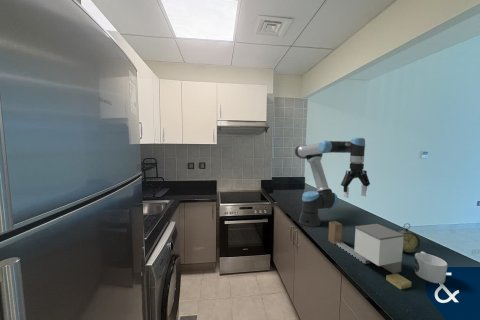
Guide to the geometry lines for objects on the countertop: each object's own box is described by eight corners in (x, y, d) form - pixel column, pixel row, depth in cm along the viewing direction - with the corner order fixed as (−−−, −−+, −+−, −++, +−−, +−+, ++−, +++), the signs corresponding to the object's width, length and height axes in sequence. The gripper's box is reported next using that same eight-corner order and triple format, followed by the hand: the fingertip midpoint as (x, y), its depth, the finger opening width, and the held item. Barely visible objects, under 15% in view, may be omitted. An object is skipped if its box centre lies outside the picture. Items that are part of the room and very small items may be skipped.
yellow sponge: (386, 280, 86) (386, 275, 86) (396, 278, 88) (396, 273, 88) (400, 290, 81) (400, 284, 81) (411, 287, 82) (411, 282, 82)
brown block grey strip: (328, 240, 122) (329, 221, 121) (334, 239, 123) (335, 221, 122) (363, 264, 98) (365, 240, 97) (371, 262, 99) (373, 239, 98)
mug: (451, 287, 82) (453, 268, 82) (419, 280, 86) (421, 262, 86) (434, 268, 95) (435, 252, 94) (407, 263, 99) (408, 248, 98)
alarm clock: (397, 253, 108) (399, 224, 107) (391, 248, 113) (393, 221, 112) (419, 255, 107) (422, 226, 105) (412, 250, 112) (414, 222, 111)
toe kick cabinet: (353, 260, 101) (355, 226, 100) (375, 256, 105) (377, 223, 104) (377, 277, 88) (380, 238, 87) (401, 271, 92) (404, 234, 91)
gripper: (345, 163, 115) (343, 199, 117) (378, 163, 122) (375, 196, 124) (335, 162, 123) (333, 196, 124) (367, 162, 129) (365, 194, 131)
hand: (354, 196), depth 124 cm, fingers open, 13 cm apart
